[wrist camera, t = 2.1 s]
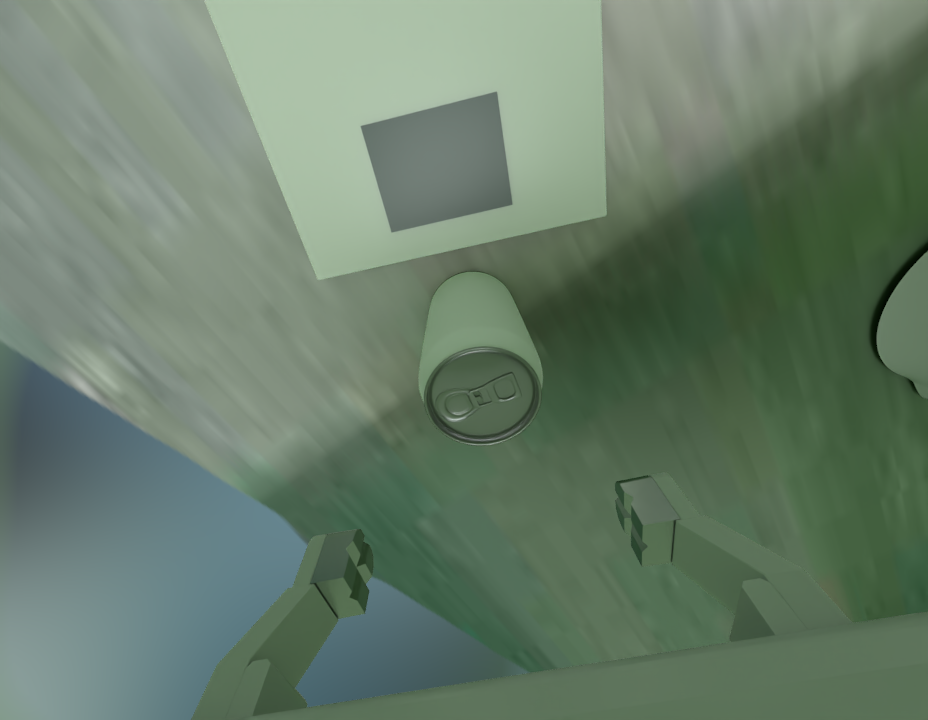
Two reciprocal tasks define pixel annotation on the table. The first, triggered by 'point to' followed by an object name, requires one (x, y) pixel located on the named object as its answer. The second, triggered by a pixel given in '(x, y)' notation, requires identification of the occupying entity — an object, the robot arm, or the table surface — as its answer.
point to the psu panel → (422, 119)
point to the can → (478, 363)
